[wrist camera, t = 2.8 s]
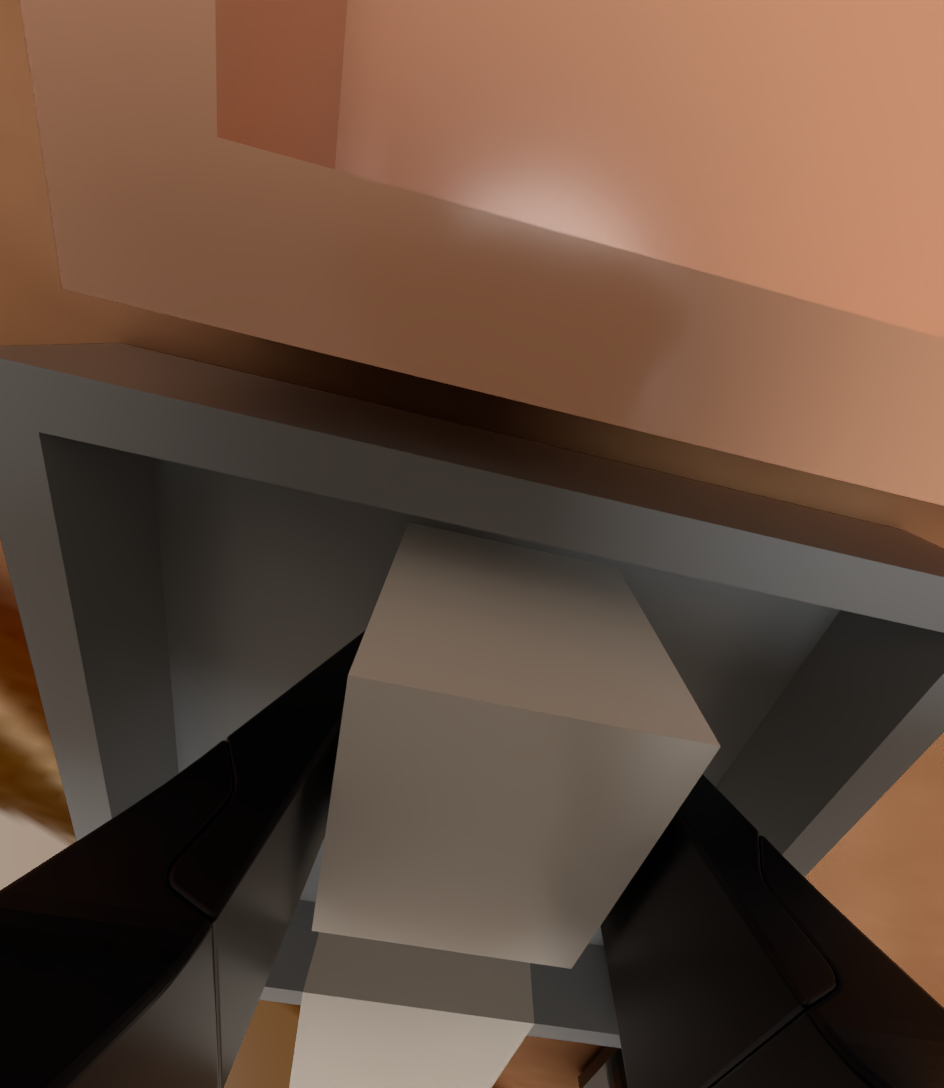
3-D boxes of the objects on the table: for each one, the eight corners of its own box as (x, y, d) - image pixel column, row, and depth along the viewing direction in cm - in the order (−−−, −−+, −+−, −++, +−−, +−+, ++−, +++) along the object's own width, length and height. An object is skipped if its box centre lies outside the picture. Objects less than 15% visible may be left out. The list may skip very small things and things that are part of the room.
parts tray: (613, 939, 15) (637, 1050, 13) (174, 871, 14) (111, 979, 12) (905, 530, 9) (1065, 604, 6) (119, 342, 7) (-50, 346, 5)
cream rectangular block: (541, 749, 10) (571, 968, 7) (372, 718, 10) (311, 930, 7) (618, 567, 8) (719, 745, 5) (408, 521, 8) (348, 674, 4)
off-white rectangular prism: (473, 907, 13) (469, 1119, 10) (341, 886, 13) (287, 1098, 10) (517, 803, 11) (534, 1023, 8) (362, 775, 11) (302, 992, 7)
